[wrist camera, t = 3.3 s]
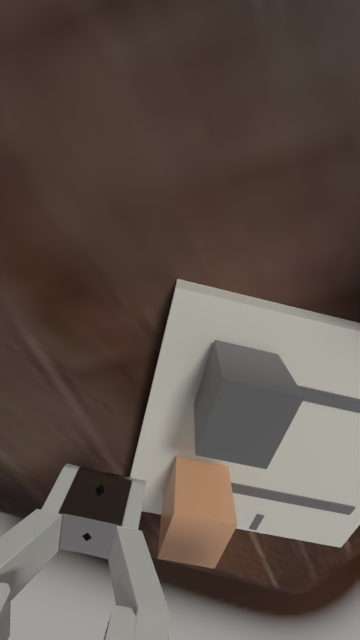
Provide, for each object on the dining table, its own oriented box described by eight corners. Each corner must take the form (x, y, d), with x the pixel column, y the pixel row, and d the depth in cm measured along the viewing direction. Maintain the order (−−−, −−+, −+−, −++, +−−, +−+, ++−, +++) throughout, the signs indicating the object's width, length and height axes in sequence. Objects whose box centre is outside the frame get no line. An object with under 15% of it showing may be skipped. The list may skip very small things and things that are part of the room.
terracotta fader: (162, 498, 22) (157, 558, 18) (176, 456, 20) (174, 513, 16) (210, 507, 22) (214, 568, 18) (228, 466, 20) (237, 524, 16)
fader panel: (127, 485, 24) (122, 508, 22) (177, 278, 17) (175, 287, 15) (329, 523, 26) (341, 548, 24) (460, 347, 18) (493, 364, 16)
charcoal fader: (193, 404, 18) (195, 455, 14) (214, 339, 16) (223, 379, 12) (250, 416, 18) (266, 469, 14) (278, 354, 16) (304, 397, 12)
